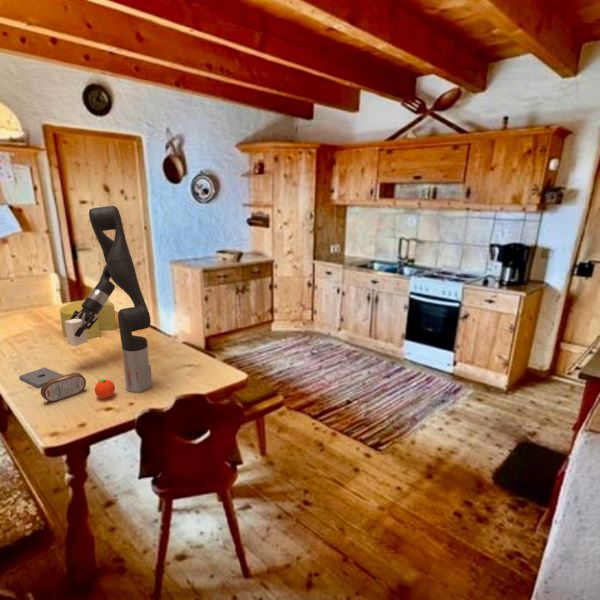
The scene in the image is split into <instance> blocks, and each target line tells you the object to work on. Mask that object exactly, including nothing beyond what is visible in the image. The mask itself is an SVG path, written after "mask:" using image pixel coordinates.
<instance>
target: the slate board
mask: <svg viewBox="0 0 600 600" xmlns="http://www.w3.org/2000/svg"><path fill="white" fill-rule="evenodd" d="M61 376H65V375H64V374H62V373H59V372H57V371H54V370H52V369H50V368H47V367H42V368H39V369H36V370H32V371H30V372H26V373H24V374H22V375H19V380H20V381H23V382H24V383H26V384H29V385H31V386H32V387H34V388H37V389H41V388H42V386H43V385H44V384H45V383H46V382H47V381H49V380H51V379H54V378H58V377H61Z"/></svg>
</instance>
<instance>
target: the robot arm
mask: <svg viewBox="0 0 600 600" xmlns="http://www.w3.org/2000/svg"><path fill="white" fill-rule="evenodd" d="M88 218H89V221H90V224H91V227H92V229H93V233H94V235H95V237H96V239H97V242H98V243H99V245H100V246H99V247H100V248H101V250H102V255H103V257H104V258H103V259H104V262H105V263H106V264H105V265H104V267H103V271H102V273H101V276H100V277H99V278H100V279H99V281H98V283H96V285H95V286H94V288H93V290H91V291H90V293H89V294H88V296H87V297H86V298H85V300H83V301H84V302H83V304H82V308H83V309H82V310H81V311H80V312H78V311H74V313H73V315H72V317H71V319H82V320H81V321H82V324H81V325H80V327H79V328H78V330H77V331H76V333H75V336H77V337H80V335H81V334H82V333H83V331H84V330H86V329H90V328H91V327H92V325H93V324H94V323H95V322H96V321H97V320H98V318H97V317H96V316H95V314H96V315H97V314H99V312H100V311H101V309H102V308H103V306H104V305H105V303H106V302H107V301H108V300H109V298H110V296H111V295H112V294H113V292H114V290H115V289H116V286H118V287H119V288H120V289H121V290H122V291H123V292H124V293H126V294H127V296H128V297H129V299H131V300H130V301H131V302H132V303H133V306H131V307H127V308H121V309H120V310H119V311H118V313H117V323H118V329H119V335H120V343H121V349H122V359H123V370H124V371H123V373H124V380H125V390H126V391H128V392H131V393H142V392H144V391H146V390H148V389H149V388H152V387H153V379H152V378H153V377H152V365H150V360H149V345H148V339H147V338H146V337H144V336H139V335H134V334H133V332H136V331H141V330H146V329H148V328H150V326H151V323H152V322H151V316H150V312H149V309H148V305H147V303H146V301H145V298H144V296H143V293H142V291H141V287H140V283H139V281H138V277H137V273H136V269H135V266H134V261H133V258H132V255H131V252H130V249H129V246H128V242H127V240H126V234H125V230H124V225H123V220H122V217H121V214H120V210H119V209H118V207H117V206H115V205H107V206H101V207H100V206H99V207H93V208H90V209H89V211H88ZM112 230H115V234H114V239H112V238H110V237H109V236H108V235H107V234H105V232H106V231H112ZM111 280H112V281H113V282H114V283H115V284H116V286H115V284H114V283H113V282H112V281H111ZM71 319H70V320H71ZM89 324H90V325H89ZM88 325H89V326H88Z"/></svg>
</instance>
